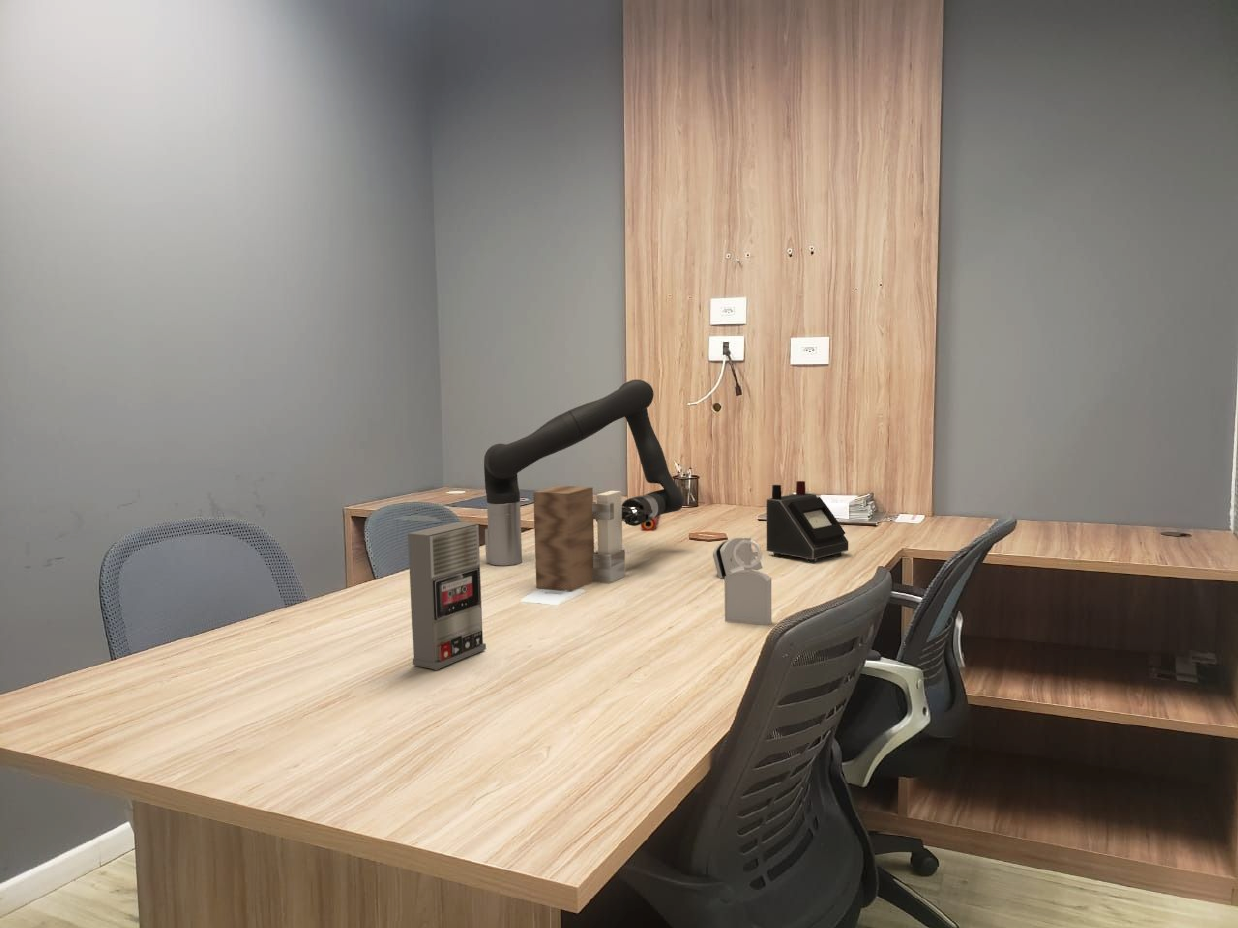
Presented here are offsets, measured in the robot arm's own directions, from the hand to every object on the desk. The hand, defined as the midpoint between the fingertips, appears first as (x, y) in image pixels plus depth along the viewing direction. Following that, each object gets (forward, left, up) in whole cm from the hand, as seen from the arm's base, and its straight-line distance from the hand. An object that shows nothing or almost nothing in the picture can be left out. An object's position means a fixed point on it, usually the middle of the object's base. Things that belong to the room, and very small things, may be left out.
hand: (611, 519), depth 241 cm
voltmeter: (+39, +44, -15) cm, 61 cm away
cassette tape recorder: (+3, -72, -15) cm, 74 cm away
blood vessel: (-28, +82, -16) cm, 88 cm away
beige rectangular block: (0, -1, -11) cm, 11 cm away
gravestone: (+46, -26, -15) cm, 55 cm away
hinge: (+28, +16, -15) cm, 36 cm away
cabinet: (-5, -8, -15) cm, 18 cm away
